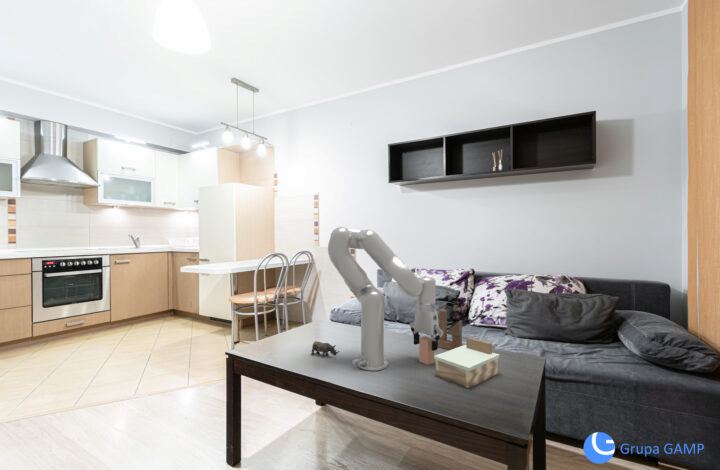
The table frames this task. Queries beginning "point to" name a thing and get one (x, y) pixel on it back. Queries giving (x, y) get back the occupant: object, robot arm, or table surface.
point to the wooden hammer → (449, 332)
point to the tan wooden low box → (466, 373)
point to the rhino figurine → (323, 348)
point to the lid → (469, 355)
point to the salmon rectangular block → (426, 350)
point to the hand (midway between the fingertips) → (425, 347)
